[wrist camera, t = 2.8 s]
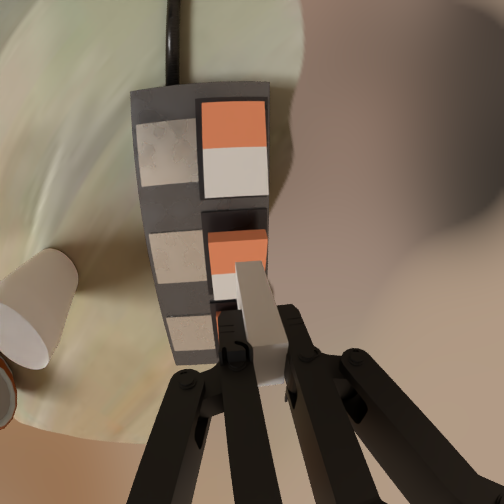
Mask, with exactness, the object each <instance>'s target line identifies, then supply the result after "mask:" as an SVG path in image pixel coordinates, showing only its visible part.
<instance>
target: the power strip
mask: <svg viewBox="0 0 504 504" xmlns="http://www.w3.org/2000/svg"><path fill="white" fill-rule="evenodd" d="M179 24H180V0H167V19H166V86H164V87H156V88H149V89H142V90H136V91H130V96H131V119H132V134H133V147H134V158H135V167H136V176H137V185H138V193H139V200H140V207H141V214H142V220H143V226H144V232H145V238H146V243H147V249H148V254H149V259H150V264H151V269H152V274H153V279H154V283H155V288H156V292H157V296H158V301H159V305H160V309H161V313H162V317H163V321H164V325H165V328H166V332H167V336H168V339H169V343H170V347H171V350H172V353H173V357H174V360H175V363H176V365H197V364H214V363H218V361H219V354H218V351H219V339H218V330H217V320H216V312H219V311H229V310H238V305H237V299H227V300H214V293H213V284H212V275H211V266H210V256H209V246H208V233H212V232H227V231H242V230H259V229H265V230H266V234H267V237H268V224H269V195H255V196H234V197H217V198H205V190H204V169H203V141H202V103H207V102H230V101H264V102H265V122H266V142H267V165H268V190H269V148H270V82H253V81H239V82H208V83H193V84H182V85H179ZM267 267H268V244H267V255H266V267H265V273H266V276H267V270H268V268H267Z"/></svg>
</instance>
